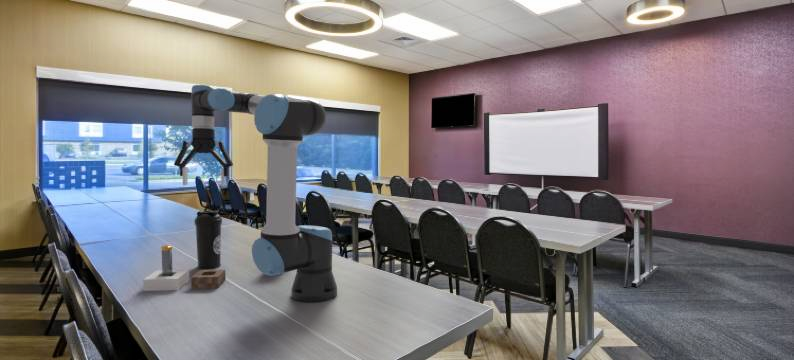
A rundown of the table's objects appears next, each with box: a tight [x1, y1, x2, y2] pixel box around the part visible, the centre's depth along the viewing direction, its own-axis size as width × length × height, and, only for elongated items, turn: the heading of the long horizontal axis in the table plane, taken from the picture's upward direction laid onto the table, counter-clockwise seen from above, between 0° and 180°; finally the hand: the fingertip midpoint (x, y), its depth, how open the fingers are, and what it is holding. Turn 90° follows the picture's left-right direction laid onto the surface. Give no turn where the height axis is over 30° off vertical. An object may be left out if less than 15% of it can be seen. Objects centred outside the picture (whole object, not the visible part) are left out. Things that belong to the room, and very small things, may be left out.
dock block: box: [142, 269, 190, 292], centre depth 148 cm, size 11×11×4 cm
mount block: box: [190, 269, 226, 290], centre depth 150 cm, size 9×9×4 cm
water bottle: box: [194, 210, 223, 270], centre depth 172 cm, size 10×10×23 cm
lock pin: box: [161, 244, 173, 276], centre depth 148 cm, size 3×3×14 cm
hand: (204, 185), depth 157 cm, fingers open, 13 cm apart
